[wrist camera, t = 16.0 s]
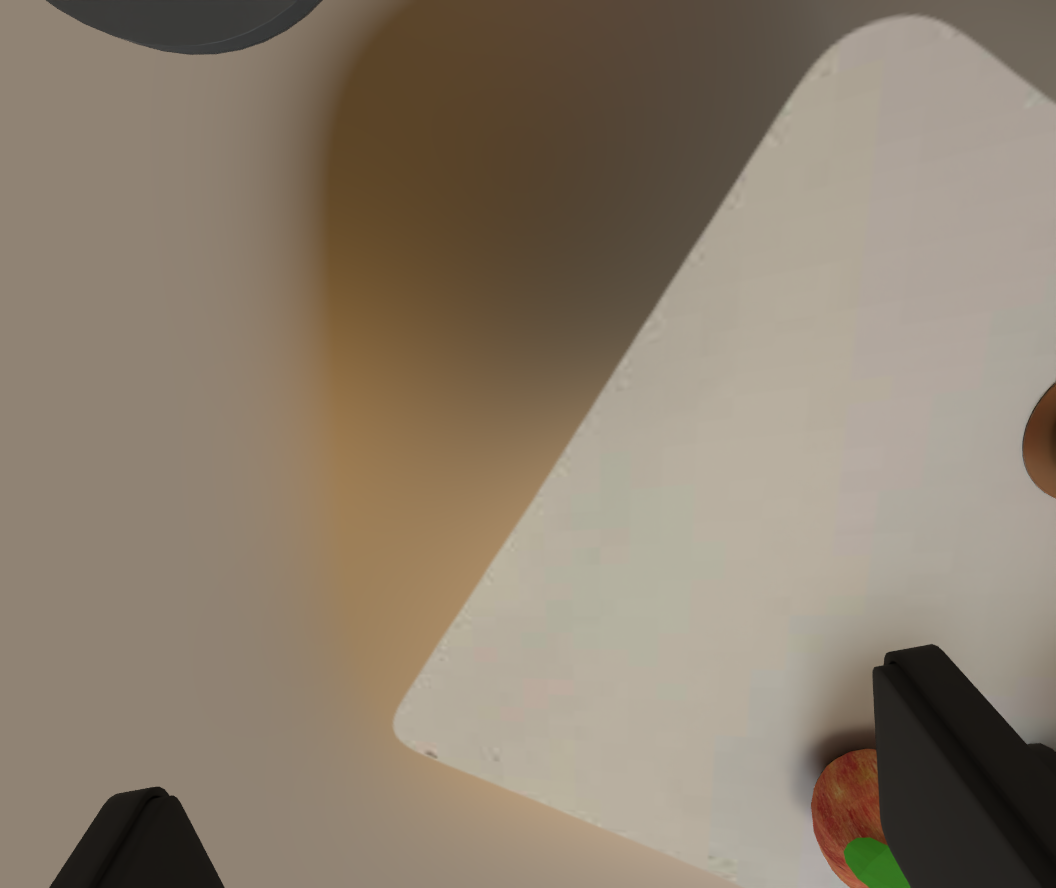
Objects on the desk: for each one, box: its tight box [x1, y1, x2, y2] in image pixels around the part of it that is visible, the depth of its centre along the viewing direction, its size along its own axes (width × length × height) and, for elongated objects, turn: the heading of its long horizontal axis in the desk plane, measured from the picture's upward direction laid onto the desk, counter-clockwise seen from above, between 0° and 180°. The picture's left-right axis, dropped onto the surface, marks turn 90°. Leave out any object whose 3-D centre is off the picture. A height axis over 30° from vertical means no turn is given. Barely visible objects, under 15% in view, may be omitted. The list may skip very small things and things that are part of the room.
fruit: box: [811, 749, 911, 888], centre depth 44 cm, size 9×10×10 cm
